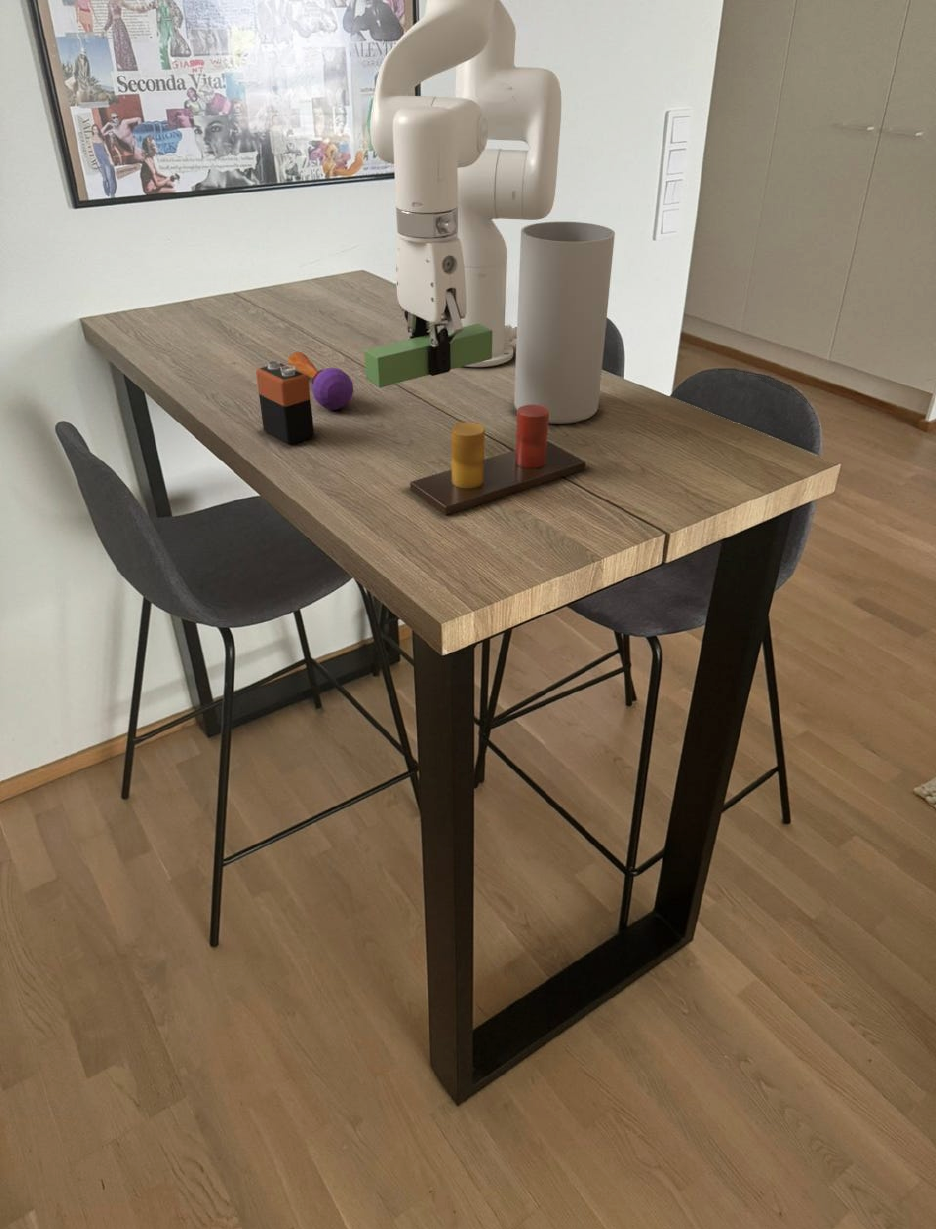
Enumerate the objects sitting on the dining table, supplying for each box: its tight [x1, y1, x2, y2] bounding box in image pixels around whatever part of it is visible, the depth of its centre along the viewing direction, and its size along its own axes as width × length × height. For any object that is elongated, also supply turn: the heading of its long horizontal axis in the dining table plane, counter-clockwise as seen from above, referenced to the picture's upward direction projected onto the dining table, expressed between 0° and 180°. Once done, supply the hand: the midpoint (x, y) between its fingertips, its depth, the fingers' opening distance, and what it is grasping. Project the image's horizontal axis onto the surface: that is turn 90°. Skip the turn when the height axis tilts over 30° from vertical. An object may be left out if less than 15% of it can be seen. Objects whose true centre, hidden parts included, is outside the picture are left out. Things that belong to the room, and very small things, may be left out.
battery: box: [255, 360, 315, 445], centre depth 123 cm, size 4×7×10 cm, turn 43°
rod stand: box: [409, 405, 586, 516], centre depth 112 cm, size 22×8×8 cm, turn 125°
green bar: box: [363, 324, 492, 389], centre depth 119 cm, size 18×4×4 cm, turn 125°
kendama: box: [287, 351, 354, 411], centre depth 137 cm, size 6×6×20 cm
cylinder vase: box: [513, 221, 616, 425], centre depth 127 cm, size 12×12×25 cm
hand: (430, 367), depth 120 cm, fingers closed on green bar, 3 cm apart
